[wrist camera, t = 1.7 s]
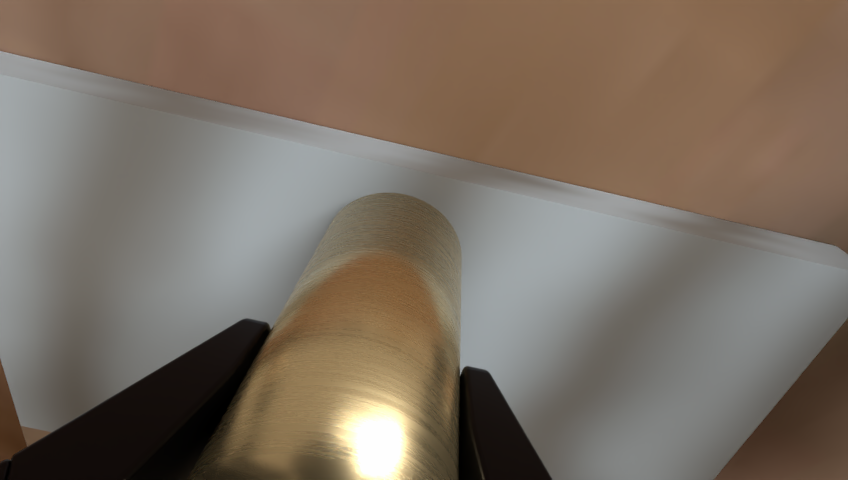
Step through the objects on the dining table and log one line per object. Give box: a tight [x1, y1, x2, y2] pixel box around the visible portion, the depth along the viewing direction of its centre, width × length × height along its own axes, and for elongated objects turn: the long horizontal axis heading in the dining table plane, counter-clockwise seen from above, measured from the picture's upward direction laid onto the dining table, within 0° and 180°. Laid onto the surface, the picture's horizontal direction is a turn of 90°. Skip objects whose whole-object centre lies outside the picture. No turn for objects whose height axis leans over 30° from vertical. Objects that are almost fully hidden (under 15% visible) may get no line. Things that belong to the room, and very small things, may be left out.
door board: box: [0, 51, 848, 480], centre depth 17 cm, size 22×24×2 cm
